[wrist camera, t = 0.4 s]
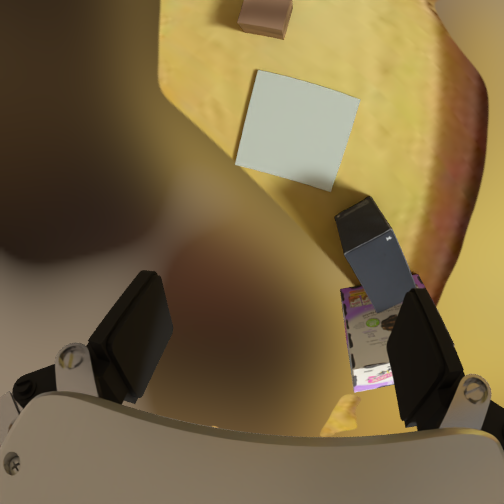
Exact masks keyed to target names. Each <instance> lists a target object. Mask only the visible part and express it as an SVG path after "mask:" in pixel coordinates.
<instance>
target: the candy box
mask: <svg viewBox="0 0 504 504" xmlns="http://www.w3.org/2000/svg"><path fill="white" fill-rule="evenodd" d="M412 277H413V279H414V282H415V285H416V287H417V288H425V286H424V284H423V282H422V281H421V279H420V276H419V275H417V274H416V275H412ZM425 289H426V288H425ZM340 292H341V301H342V309H343V317H344V325H345V332H346V340H347V347H348V354H349V360H350V367H351V375H352V381H353V389H354V392H359V391H365V390H370V389H375V388H380V387H385V386H390V385H394V381H393V376H392V371H391V367H390V362H389V358H388V354H387V349H386V346H387V341H388V338H389V336H390V334H391V331H392V329H393V326H394V324H395V321H396V319H397V316H398V313H399V311H400V308H401V305H402V302H401V303H399V304H397V305H395V306H393V307H391V308H389V309H387V310H385V311H383V312H380V313H377V312H376V311H375V309H374V307H373V305H372V303H371V301H370V299H369V298H368V296H367V294H366V292H365V290H364V288H363V287H362V285H361V286H355V287H349V288H343V289H340ZM432 301H433V300H432ZM433 303H434V302H433ZM434 305H435V304H434ZM435 307H436V306H435ZM436 309H437V308H436ZM437 311H438V310H437ZM438 313H439V312H438ZM439 315H440V314H439ZM440 317H441V316H440ZM441 319H442V318H441ZM442 321H443V320H442ZM443 323H444V322H443ZM444 325H445V324H444ZM445 327H446V326H445ZM446 329H447V328H446ZM447 332H448V330H447ZM448 334H449V332H448ZM449 336H450V335H449ZM450 338H451V337H450ZM451 341H452V339H451ZM452 343H453V341H452ZM453 345H454V343H453Z"/></svg>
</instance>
